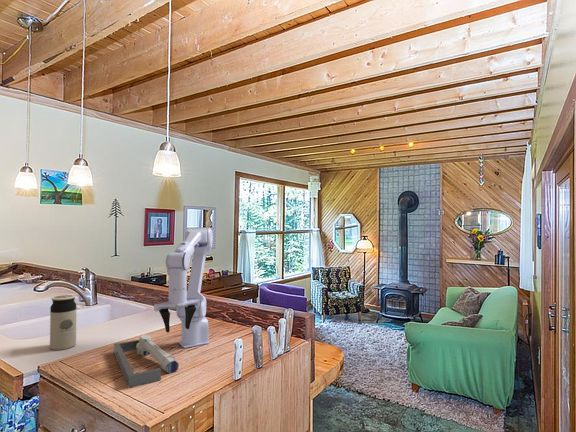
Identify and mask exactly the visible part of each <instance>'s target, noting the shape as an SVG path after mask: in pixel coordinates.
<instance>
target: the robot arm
mask: <svg viewBox="0 0 576 432" xmlns="http://www.w3.org/2000/svg"><path fill="white" fill-rule="evenodd" d="M213 233H214V231H213V230H212V228H210V227H208V228H205V227H204V228H201V227H200V228H198V227H197V228H190V227H188V228H187V229H186V230H185V231H184V239H185V241H183V240H182V241H181V242H180V243H179V244H178V245H177V247H176V248H175V249H174V251H173V252H169V253H168V254H167V255H166V256H165V257H166V258H165V268H166V274H167V276H168V301H164V302H161V303H155V304H153V310H154V311H155V312H159V314H160V316H161V318H162V320H163V324H164V329H165V332H166V333H170V331H171V330H170V328H171V326H170V317H171V312H170V310H173V309H175V310H176V311H175V313H176V316H177V318H178V319H179V321H180V322H181V323H180V324H181V325H180V326H181V327H180V328H181V332H180V335H181V336H180V337H181V339H180V340H177V343H178V344H179V345H180V346H181V347H182V348H183V349H186V348H190V347H191V348H192V347H197V346H202V345H207V344H210V341H209V330H210V329H209V320H208V319H207V317H206V314H207V298H206V297H205V296H204V295H203V294H202V293H201V291H202V284H203V278H204V277H203V276H204V270H205V263H206V257H207V254H208V253H209V252H210V251H212V247H213V239H214V236H213V235H214V234H213ZM191 257H192V263H191ZM190 263H191V267H190ZM189 267H190V268H191V269H190V274H189V279H188V277H187V276H188V270H189ZM187 279H188V280H189V281H188V280H187ZM187 283H188V284H187Z"/></svg>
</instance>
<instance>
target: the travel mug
mask: <svg viewBox="0 0 576 432" xmlns="http://www.w3.org/2000/svg"><path fill="white" fill-rule="evenodd" d="M76 297H77V296H76V295H74V294H62V295H60V294H59V295H56V296H52V297H51V298H50V299H51V301H52V303H51V305H50V308H49V309H50V315H49V316H50V318H49V323H50V324H49V328H50V329H49V348H50V350H52V351H53V350H54V351H62V350H67V349H70V348H71V349H72V348H73V347H75V346H76V345H77V303H76V301H75V299H76Z"/></svg>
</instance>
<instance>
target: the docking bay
mask: <svg viewBox="0 0 576 432" xmlns="http://www.w3.org/2000/svg"><path fill="white" fill-rule="evenodd" d="M137 343H139V339H134V340H129V341H123V342H117V343H113V354H114V356H115V359H116V361H117V363H118V366H119V368H120V370H121V373H122V375H123V378H124V379H125V380H124V381H125V382H126V385H127V388H128V389H129V388H134V387H138V386H143V385H147V384H150V383H154V382H158V381H161V380H162V377H161V376H162V373H161V372H162V368H161V367H159V368H154V369H150V370H145V371H141V372H136V373H135V372H134V370H133V368H132V365H130V362H129V360H128V358H127V356H126V354H125V352H126V353H127V352H131V351H137V348H136V345H137Z"/></svg>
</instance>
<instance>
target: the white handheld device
mask: <svg viewBox="0 0 576 432" xmlns="http://www.w3.org/2000/svg"><path fill="white" fill-rule="evenodd" d="M138 340H139V343H137V345H136V348H137V350H136V355H138V356H139V355H140V356H142V357H143V356H149V355H151V356H152V358H154V360H155V361H156V362H157V363H158V364H159V366H160V369H161V370H163V371H165V372H166V373H168V374H169V375H170V374H173V373H176V372H177V371H178V370H179V366H180V363H179V362H178V361H177V360H176V358H175V357H174V356H173V355H172V354H169V353H168V352H166V351H165V350H163V349H162V348H161V347H159V345H157V344H156V343H155V342H154V341H152V337H151V335H149V334H142V335H140V336H139V339H138Z"/></svg>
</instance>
